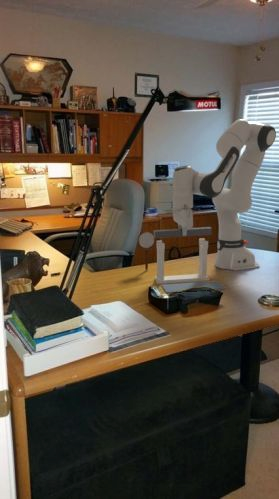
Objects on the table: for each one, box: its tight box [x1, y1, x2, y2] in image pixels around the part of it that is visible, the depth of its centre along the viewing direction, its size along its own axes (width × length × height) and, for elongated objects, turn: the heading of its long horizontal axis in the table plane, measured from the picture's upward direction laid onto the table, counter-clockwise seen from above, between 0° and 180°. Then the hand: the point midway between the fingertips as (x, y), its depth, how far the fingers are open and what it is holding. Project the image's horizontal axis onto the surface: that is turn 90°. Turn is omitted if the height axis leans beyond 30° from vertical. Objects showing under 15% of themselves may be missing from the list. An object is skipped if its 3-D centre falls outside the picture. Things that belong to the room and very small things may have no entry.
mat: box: [161, 280, 227, 294], centre depth 175 cm, size 26×10×1 cm, turn 100°
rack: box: [154, 238, 210, 285], centre depth 183 cm, size 24×6×18 cm, turn 100°
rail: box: [153, 226, 213, 239], centre depth 180 cm, size 26×3×3 cm, turn 100°
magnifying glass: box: [137, 230, 156, 272], centre depth 198 cm, size 9×2×20 cm, turn 103°
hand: (182, 234), depth 181 cm, fingers closed on rail, 3 cm apart
